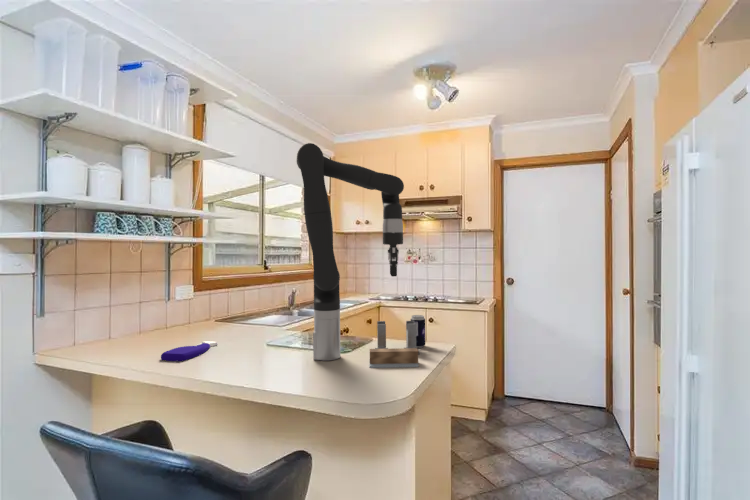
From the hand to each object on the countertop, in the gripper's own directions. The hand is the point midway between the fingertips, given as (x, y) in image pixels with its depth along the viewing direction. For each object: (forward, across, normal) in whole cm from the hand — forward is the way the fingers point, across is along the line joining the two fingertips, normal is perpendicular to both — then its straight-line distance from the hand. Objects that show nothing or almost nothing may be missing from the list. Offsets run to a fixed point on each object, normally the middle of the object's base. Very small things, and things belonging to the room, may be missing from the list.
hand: (393, 275), depth 149 cm
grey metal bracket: (+29, 0, -5) cm, 29 cm away
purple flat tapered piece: (+29, -3, -76) cm, 82 cm away
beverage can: (+29, -9, +10) cm, 32 cm away
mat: (+28, +14, -1) cm, 32 cm away
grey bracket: (+29, -1, +6) cm, 29 cm away
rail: (+28, +14, -1) cm, 31 cm away
